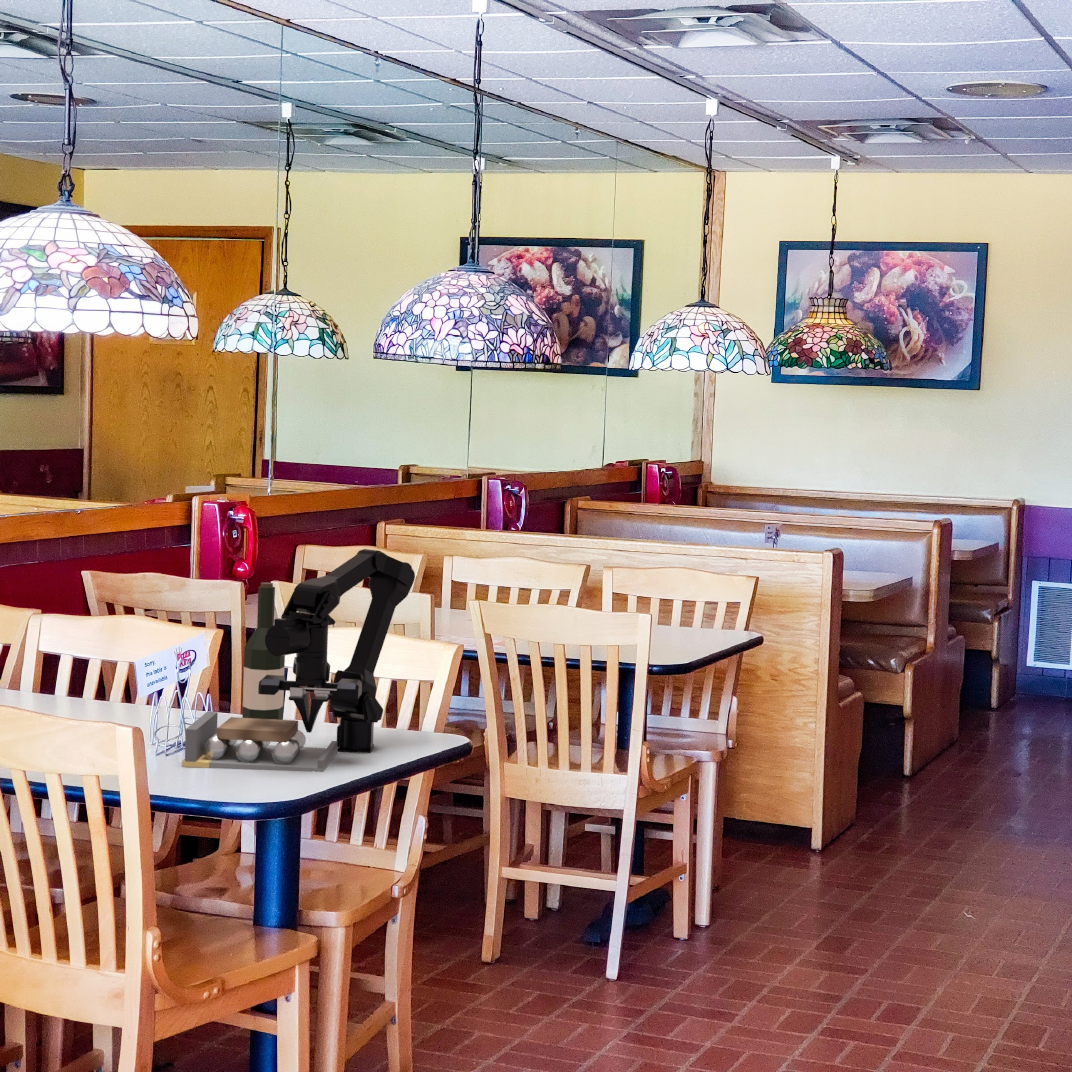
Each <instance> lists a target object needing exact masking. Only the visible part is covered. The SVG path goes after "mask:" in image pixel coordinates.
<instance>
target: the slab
mask: <svg viewBox="0 0 1072 1072" xmlns="http://www.w3.org/2000/svg"><path fill="white" fill-rule="evenodd" d="M298 730H299V720H293V719H283V720H276V719H256V718H242V717H238V716H237V717H235V716H234V717H233V716H231V717H229V718H228V719H227V720H225V721H224V722H223V723H222V724H220V725H219V726H217V739H229V740H238V741H243V740H249V741H267V742H270V743H279V742H287V741H288V740H289V739H290V738H291V737H292V736H293V735H294V734H295V733H296V732H297V731H298Z"/></svg>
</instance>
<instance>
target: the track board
mask: <svg viewBox="0 0 1072 1072" xmlns="http://www.w3.org/2000/svg"><path fill="white" fill-rule="evenodd" d="M218 715H219V714H218V711H207V712H205V713H204V714H202V715H201V716H200V717H199V718H198V719H196V720H195V721H194V722H193V723H191V724H190V725H189V726H187V728H185V737H184V738H185V739H184V740H185V741H184V747H185V749H184V758H183V760H182V761H181V767H184V768H201V769H202V768H203V769H220V770H221V769H222V770H223V769H225V770H227V769H228V770H230V769H231V770H255V771H256V770H257V771H288V772H312V771H315V772H316V773H317V772H318V771H319V772H321V773H323V772H324V771H325V770H326V768H328V766H329V765H330V764H331V762H332V761H333V760H334V758H335V757H336V755H338V747H337V740H332V741H331V742H330V743H329V745H328V746H327V747H314V746H313V747H312V746H303V747H302V749H301V750H300V751H299V752H298V753H297V755H296V756H295V757H294V758H293V759H292V760H291V762H289V763H288V764H285V765H280V764H278V763H276V762H275V761H274V760H273V757H272V750H273V748H274V747H275V746H276V744H275V745H274V744H273V745H272V744H269V745H268V746H267V747H266V748H265V749H264V750H263V751H262V752H261V753H260V754H259V756H258V757H257V758H256V759H255V760H254V761H252V762H250V763H244V762H241V761H240V760H239V759H238V758H237V756H236V748H237V746H238V745H239V744H240V743H237V742H236V743H235V744H234V745H233V746H232V747H231V748H230V749H229V750H228V751H227V752H226V753H225V754H224V755H223V756H221V757H220V758H219V759H217V760H209V759H207V758H206V757H205V756H204V754H203V751H202V747H203V744H204V743H205V742H206V741H207V740H208V739H209V738H210V737H212V736H213V735H214V734H215V733H216V732H217V728H218ZM332 759H333V760H332Z"/></svg>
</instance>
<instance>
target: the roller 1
mask: <svg viewBox="0 0 1072 1072" xmlns="http://www.w3.org/2000/svg"><path fill="white" fill-rule="evenodd" d="M238 741H239V740H229V739H217V732H216V733H215V734H214V735H213V736H212V737H210V738H209V739H208V740H207V741H206V742H205V743H204V744H203V747H202V751H203V754H204V756H205V757H206V758H207V759H209V760H217V759H219V758H220V757H221V756H223V755H224V754H225V753H226V752H227V751H228V750H229V749H230V748H231V747H232V746H233V745H234V744H235V743H237V742H238Z"/></svg>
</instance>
